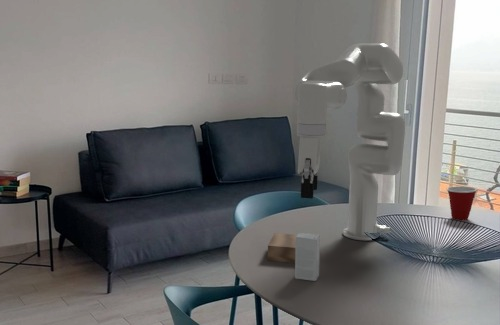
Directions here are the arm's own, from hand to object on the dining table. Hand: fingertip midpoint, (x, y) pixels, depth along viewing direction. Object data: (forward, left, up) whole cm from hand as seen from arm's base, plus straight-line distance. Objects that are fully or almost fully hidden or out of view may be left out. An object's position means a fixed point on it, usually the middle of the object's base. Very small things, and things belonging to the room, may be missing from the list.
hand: (309, 193), depth 145 cm
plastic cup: (-50, -71, -24) cm, 90 cm away
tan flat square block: (+7, -16, -24) cm, 30 cm away
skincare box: (0, 0, -24) cm, 24 cm away
